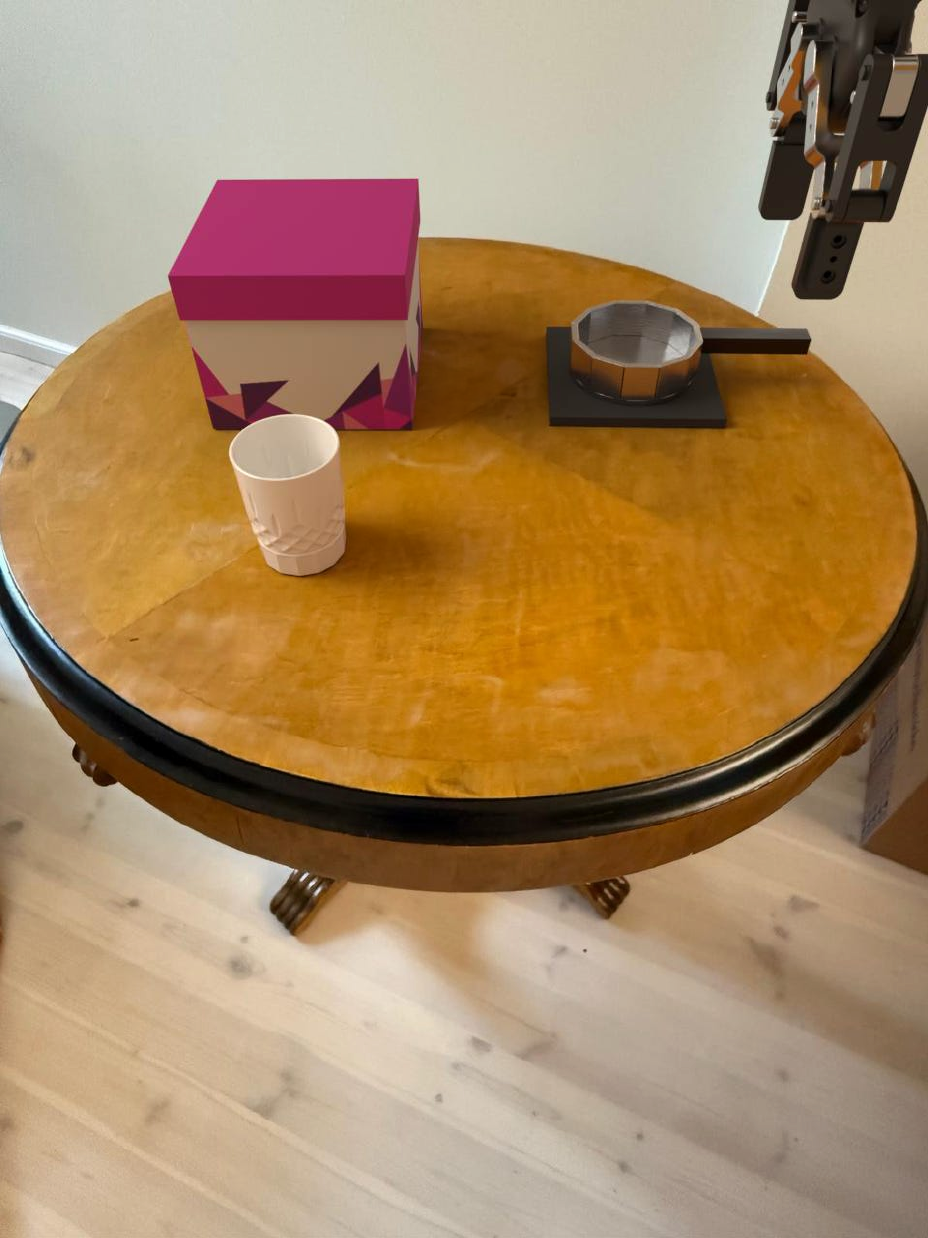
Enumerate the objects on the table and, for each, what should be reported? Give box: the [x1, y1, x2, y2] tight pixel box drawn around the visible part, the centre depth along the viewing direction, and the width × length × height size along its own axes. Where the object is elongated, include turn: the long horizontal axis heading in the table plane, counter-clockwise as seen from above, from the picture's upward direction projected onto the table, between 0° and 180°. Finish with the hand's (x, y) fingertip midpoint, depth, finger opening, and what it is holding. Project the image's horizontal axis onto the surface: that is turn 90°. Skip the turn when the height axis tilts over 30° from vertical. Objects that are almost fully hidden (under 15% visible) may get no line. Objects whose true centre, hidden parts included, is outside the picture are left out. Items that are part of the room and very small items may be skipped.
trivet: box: [545, 326, 728, 429], centre depth 87 cm, size 16×16×1 cm
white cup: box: [228, 414, 347, 577], centre depth 68 cm, size 8×8×10 cm
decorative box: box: [167, 178, 424, 430], centre depth 83 cm, size 19×19×15 cm
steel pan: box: [569, 299, 813, 406], centre depth 85 cm, size 22×12×4 cm, turn 88°
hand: (795, 253), depth 45 cm, fingers open, 8 cm apart
